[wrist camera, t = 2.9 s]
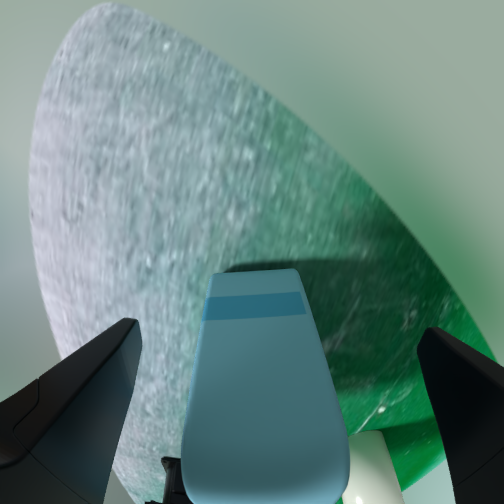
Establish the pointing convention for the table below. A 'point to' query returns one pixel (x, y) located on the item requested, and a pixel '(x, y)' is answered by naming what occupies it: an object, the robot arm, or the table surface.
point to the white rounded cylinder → (371, 471)
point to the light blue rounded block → (262, 399)
